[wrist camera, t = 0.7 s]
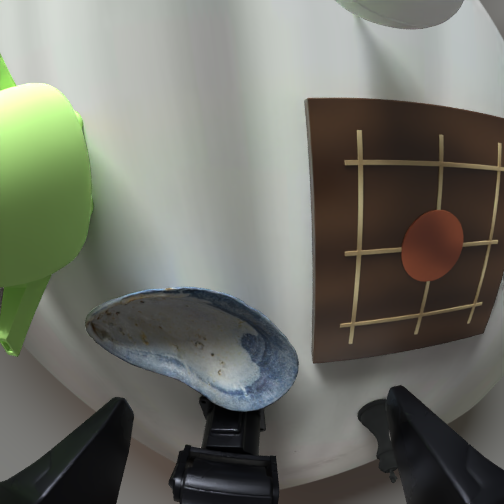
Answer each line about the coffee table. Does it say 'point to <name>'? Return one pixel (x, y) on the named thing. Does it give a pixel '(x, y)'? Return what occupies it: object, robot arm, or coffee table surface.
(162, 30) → the coffee table surface
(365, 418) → the chess piece
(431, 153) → the board
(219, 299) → the seashell
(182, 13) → the coffee table surface
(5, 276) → the teapot
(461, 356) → the coffee table surface
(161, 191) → the coffee table surface
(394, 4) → the spinning top
